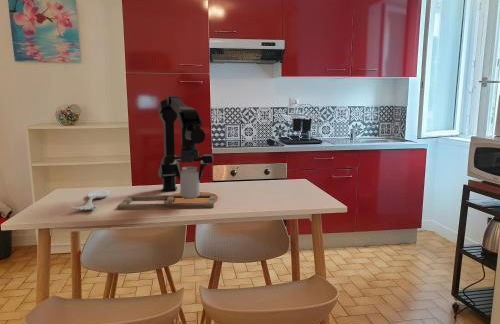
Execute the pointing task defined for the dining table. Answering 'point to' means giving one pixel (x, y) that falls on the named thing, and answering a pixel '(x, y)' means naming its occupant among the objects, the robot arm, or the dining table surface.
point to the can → (189, 182)
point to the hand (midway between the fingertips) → (189, 180)
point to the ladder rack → (167, 204)
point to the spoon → (91, 196)
